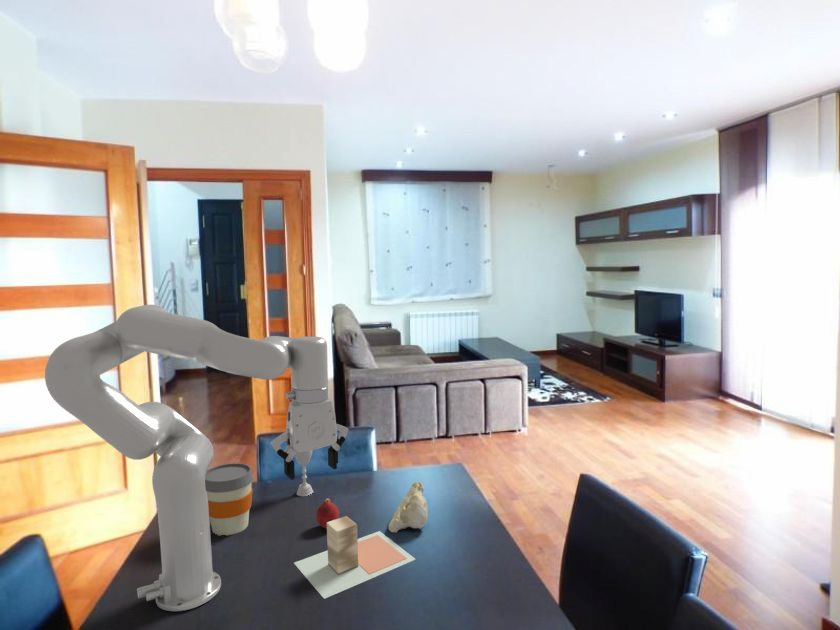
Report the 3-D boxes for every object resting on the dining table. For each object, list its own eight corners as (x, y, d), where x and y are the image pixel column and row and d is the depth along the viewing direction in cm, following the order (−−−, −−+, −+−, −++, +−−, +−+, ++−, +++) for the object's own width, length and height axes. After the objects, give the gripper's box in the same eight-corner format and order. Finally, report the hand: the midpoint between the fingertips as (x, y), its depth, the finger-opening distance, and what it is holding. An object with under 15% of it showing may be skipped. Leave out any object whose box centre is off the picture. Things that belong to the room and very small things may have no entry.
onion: (334, 535, 130) (333, 505, 129) (313, 533, 131) (312, 503, 130) (342, 524, 136) (341, 495, 135) (322, 522, 137) (320, 493, 136)
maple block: (338, 575, 113) (336, 531, 112) (328, 564, 117) (326, 522, 116) (358, 566, 116) (357, 524, 115) (347, 556, 120) (346, 515, 119)
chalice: (313, 497, 152) (311, 438, 150) (290, 498, 152) (287, 438, 150) (318, 487, 159) (316, 430, 157) (296, 487, 159) (294, 430, 157)
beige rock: (413, 551, 126) (451, 502, 131) (391, 531, 125) (430, 482, 131) (397, 540, 140) (432, 495, 145) (378, 522, 140) (414, 478, 145)
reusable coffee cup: (202, 543, 128) (199, 485, 126) (206, 519, 139) (203, 466, 138) (255, 533, 132) (252, 477, 130) (254, 512, 143) (252, 460, 142)
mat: (324, 601, 105) (324, 598, 105) (293, 564, 118) (293, 562, 118) (416, 561, 118) (415, 558, 118) (379, 532, 131) (379, 530, 131)
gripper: (276, 404, 102) (278, 488, 103) (354, 392, 111) (355, 469, 113) (264, 397, 108) (266, 475, 109) (339, 386, 118) (340, 458, 119)
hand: (311, 472), depth 111 cm, fingers open, 9 cm apart
